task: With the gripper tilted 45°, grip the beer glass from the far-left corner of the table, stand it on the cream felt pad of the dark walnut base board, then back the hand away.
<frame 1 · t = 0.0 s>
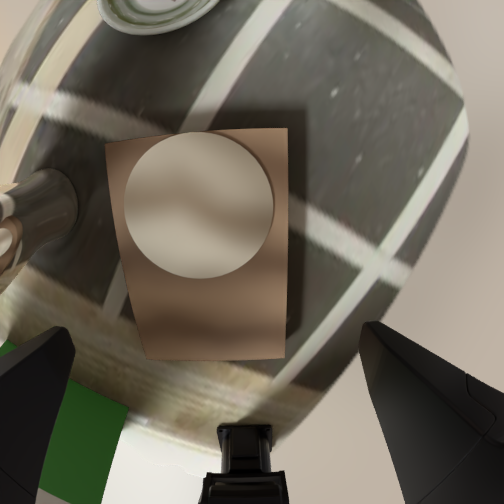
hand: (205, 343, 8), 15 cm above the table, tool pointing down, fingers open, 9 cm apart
walnut base: (204, 253, 23), on the table
hardback book: (62, 389, 30), on the table
beer glass: (51, 203, 21), on the table
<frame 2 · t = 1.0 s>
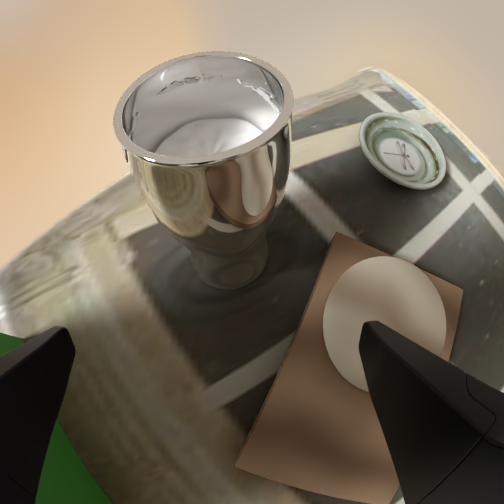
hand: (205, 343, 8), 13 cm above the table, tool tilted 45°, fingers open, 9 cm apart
walnut base: (361, 377, 20), on the table
hardback book: (39, 441, 17), on the table
beer glass: (228, 252, 24), on the table
saucer: (396, 161, 28), on the table
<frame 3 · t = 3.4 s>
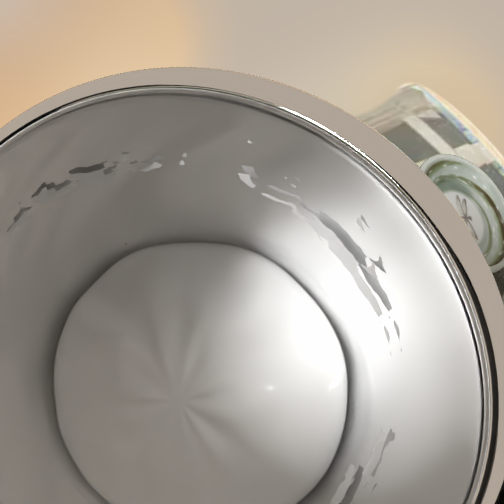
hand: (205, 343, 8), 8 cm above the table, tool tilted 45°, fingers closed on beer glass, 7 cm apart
beer glass: (229, 382, 15), on the table, touching gripper
saucer: (454, 223, 19), on the table
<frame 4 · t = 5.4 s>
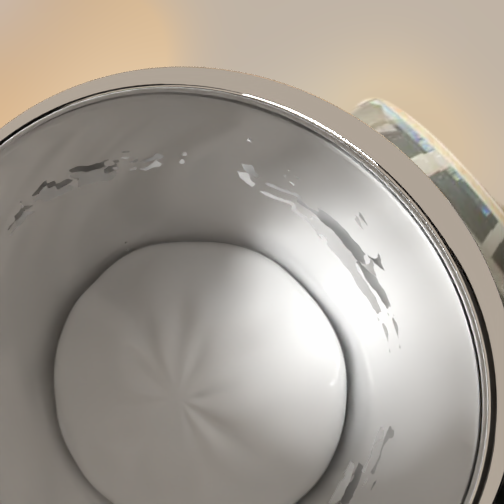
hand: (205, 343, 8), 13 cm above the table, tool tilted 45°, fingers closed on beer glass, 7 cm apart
beer glass: (229, 381, 15), point 5 cm above the table, touching gripper
when the fingers open (11 cm above the table, at t = 7.2 s): beer glass stays where it is, resting on walnut base.
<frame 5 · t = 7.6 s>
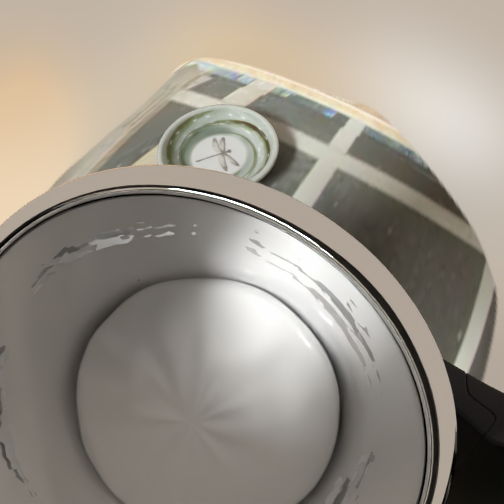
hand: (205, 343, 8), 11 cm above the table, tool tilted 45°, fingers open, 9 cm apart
beer glass: (233, 387, 16), point 2 cm above the table, touching walnut base
saucer: (219, 162, 25), on the table
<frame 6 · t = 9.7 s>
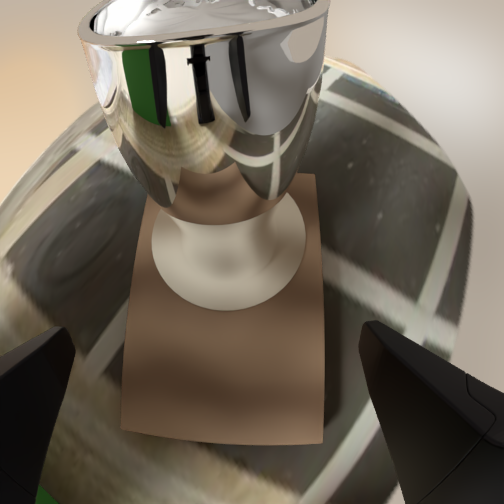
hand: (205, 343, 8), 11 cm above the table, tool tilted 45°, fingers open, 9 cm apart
walnut base: (226, 301, 20), on the table
beer glass: (229, 237, 19), point 2 cm above the table, touching walnut base
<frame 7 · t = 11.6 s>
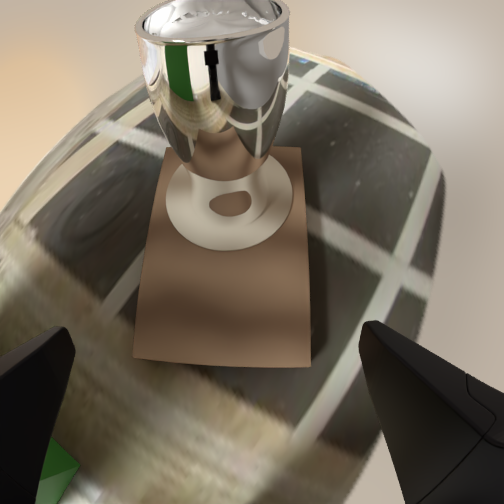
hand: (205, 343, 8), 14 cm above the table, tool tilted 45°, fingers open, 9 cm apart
walnut base: (227, 249, 24), on the table
hardback book: (5, 420, 18), on the table
beer glass: (229, 195, 23), point 2 cm above the table, touching walnut base
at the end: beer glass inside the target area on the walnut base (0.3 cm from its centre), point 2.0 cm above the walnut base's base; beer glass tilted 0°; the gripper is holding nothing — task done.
